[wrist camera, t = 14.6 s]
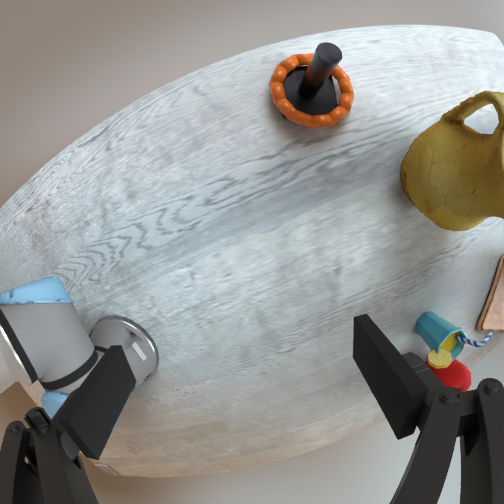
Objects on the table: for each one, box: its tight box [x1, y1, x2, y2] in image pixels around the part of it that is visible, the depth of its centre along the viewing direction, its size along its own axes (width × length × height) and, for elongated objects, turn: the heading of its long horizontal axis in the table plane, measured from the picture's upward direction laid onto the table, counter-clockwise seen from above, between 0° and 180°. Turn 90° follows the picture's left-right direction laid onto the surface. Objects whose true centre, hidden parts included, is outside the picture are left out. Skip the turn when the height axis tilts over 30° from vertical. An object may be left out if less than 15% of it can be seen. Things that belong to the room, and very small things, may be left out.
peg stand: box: [282, 43, 342, 119], centre depth 31 cm, size 9×9×15 cm
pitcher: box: [401, 91, 504, 231], centre depth 29 cm, size 17×19×25 cm
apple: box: [425, 359, 471, 392], centre depth 44 cm, size 11×10×14 cm
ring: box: [269, 54, 354, 129], centre depth 36 cm, size 13×13×2 cm
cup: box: [416, 312, 492, 369], centre depth 40 cm, size 14×8×15 cm, turn 117°
